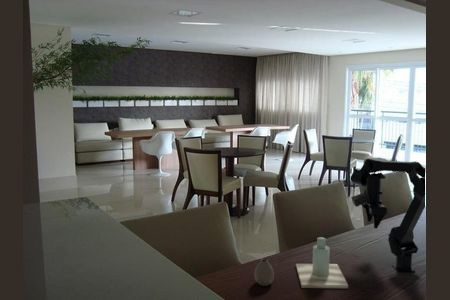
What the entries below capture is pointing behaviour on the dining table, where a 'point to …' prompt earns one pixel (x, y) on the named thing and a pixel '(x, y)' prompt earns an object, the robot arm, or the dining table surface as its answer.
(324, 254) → the oil bottle
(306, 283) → the birch board
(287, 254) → the dining table surface
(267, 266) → the vase
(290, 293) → the dining table surface
